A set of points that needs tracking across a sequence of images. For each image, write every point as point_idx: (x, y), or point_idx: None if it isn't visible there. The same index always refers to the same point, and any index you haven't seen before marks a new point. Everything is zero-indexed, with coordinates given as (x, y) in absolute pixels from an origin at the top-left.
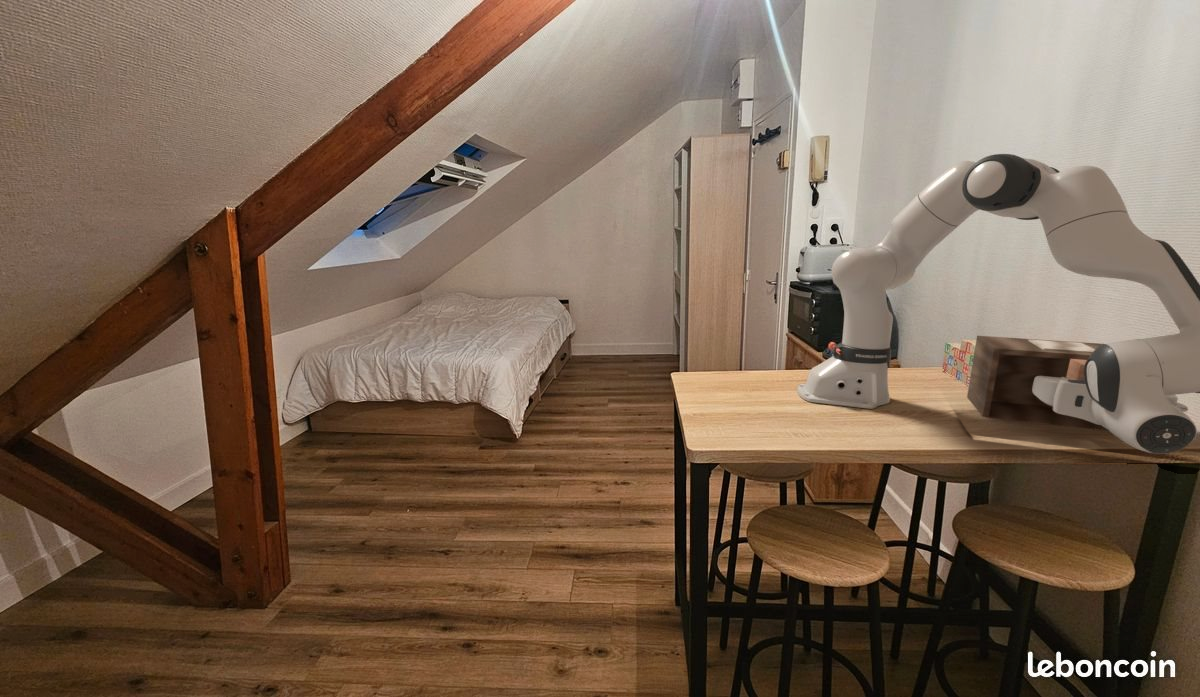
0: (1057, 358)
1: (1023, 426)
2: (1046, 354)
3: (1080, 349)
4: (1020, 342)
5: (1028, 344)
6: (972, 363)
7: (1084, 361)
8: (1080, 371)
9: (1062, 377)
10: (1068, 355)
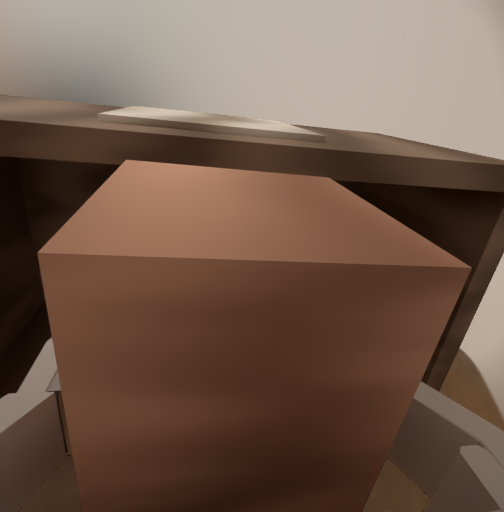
0: None
1: (71, 469)
2: (76, 142)
3: (256, 126)
4: (85, 108)
5: (95, 112)
6: None
7: (205, 182)
8: (78, 360)
9: (40, 352)
10: (185, 147)
